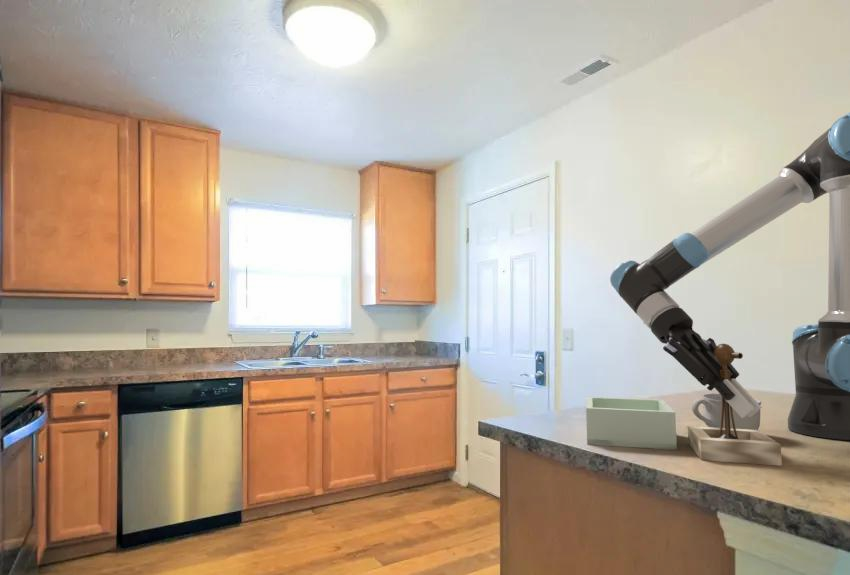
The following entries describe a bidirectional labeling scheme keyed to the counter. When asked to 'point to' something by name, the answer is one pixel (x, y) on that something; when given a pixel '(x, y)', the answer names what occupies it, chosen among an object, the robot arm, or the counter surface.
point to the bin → (630, 423)
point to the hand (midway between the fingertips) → (751, 412)
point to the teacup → (714, 413)
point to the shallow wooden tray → (734, 446)
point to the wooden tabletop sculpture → (723, 356)
